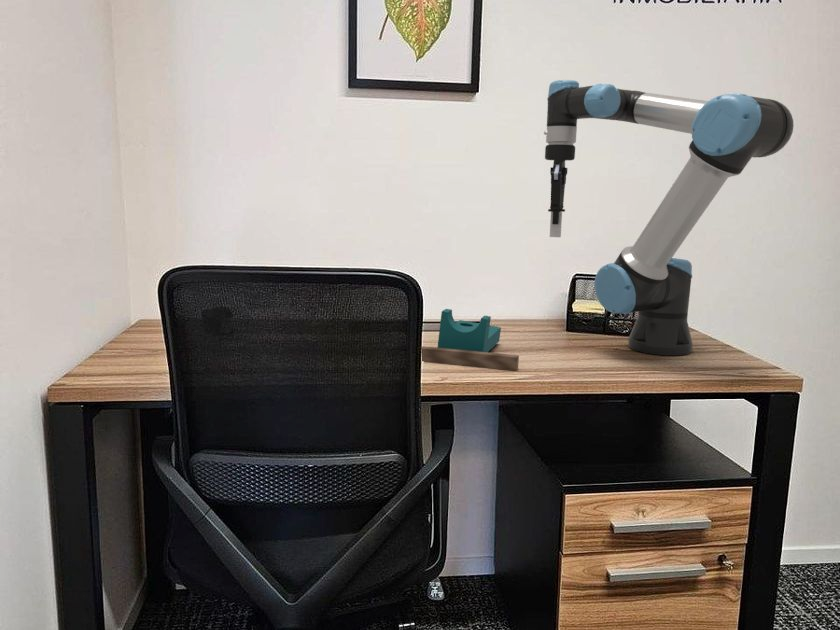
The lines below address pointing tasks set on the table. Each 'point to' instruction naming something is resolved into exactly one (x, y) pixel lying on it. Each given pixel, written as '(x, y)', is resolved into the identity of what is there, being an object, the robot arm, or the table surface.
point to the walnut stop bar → (470, 358)
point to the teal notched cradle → (467, 334)
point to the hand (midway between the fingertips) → (555, 236)
